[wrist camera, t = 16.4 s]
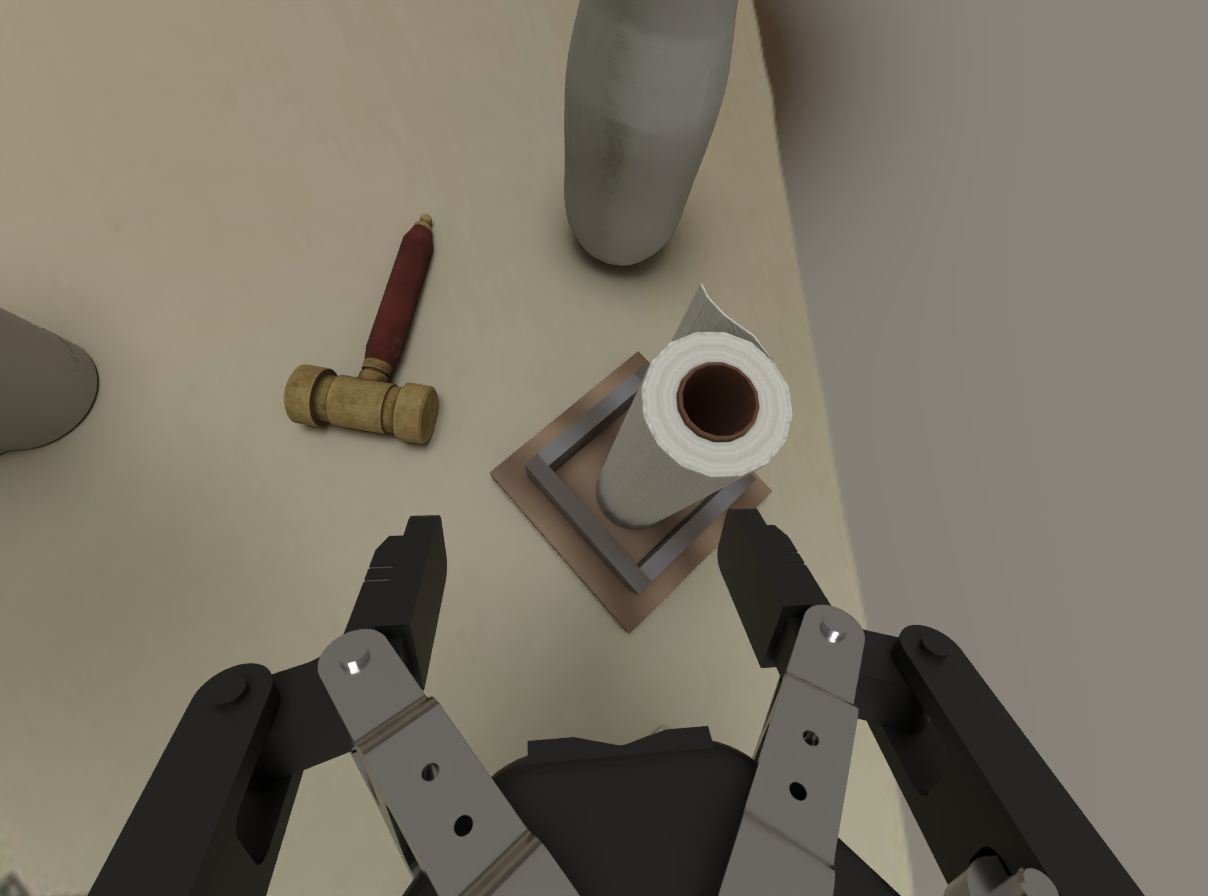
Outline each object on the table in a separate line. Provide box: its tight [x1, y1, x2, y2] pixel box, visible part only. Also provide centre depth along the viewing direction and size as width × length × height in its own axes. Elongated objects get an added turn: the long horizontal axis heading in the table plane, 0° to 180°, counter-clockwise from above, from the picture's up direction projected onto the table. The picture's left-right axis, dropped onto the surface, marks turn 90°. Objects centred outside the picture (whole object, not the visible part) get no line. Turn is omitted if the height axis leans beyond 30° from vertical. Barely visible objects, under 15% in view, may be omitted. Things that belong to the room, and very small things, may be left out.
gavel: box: [284, 214, 438, 444], centre depth 42 cm, size 21×5×10 cm
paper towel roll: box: [596, 284, 793, 529], centre depth 30 cm, size 7×6×21 cm
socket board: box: [490, 351, 772, 633], centre depth 39 cm, size 16×16×6 cm
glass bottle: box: [564, 0, 738, 266], centre depth 34 cm, size 10×10×28 cm
